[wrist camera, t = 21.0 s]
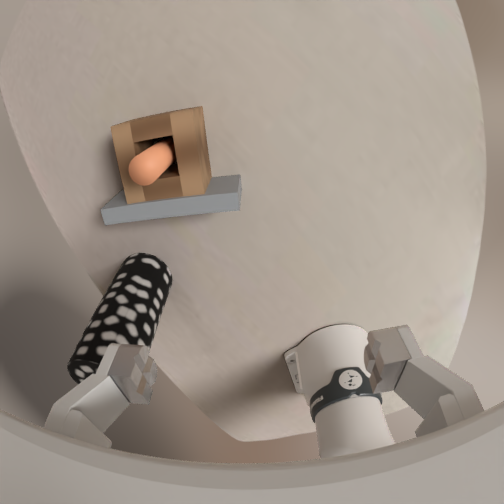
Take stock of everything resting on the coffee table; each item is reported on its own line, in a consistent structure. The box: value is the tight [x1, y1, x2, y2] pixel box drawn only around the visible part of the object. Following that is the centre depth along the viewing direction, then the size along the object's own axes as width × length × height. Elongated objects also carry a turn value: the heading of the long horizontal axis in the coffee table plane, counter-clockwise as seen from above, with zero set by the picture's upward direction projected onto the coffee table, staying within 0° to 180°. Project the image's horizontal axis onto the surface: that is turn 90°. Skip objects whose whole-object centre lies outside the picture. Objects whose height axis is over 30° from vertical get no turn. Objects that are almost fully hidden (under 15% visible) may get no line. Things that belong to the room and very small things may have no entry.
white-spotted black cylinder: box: [68, 253, 172, 384], centre depth 34 cm, size 8×8×20 cm
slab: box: [101, 175, 242, 225], centre depth 33 cm, size 2×16×6 cm, turn 95°
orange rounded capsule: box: [129, 136, 177, 186], centre depth 29 cm, size 3×3×10 cm
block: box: [111, 106, 212, 204], centre depth 30 cm, size 9×9×6 cm
